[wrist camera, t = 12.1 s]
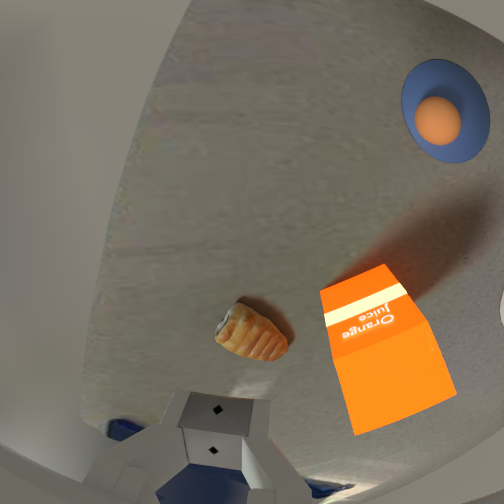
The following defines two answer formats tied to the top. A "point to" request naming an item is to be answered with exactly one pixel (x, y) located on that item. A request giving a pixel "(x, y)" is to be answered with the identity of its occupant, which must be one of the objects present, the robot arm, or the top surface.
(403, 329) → the orange juice
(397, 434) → the top surface
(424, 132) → the ball
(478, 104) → the blue flat disc
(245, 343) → the pastry
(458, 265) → the top surface
